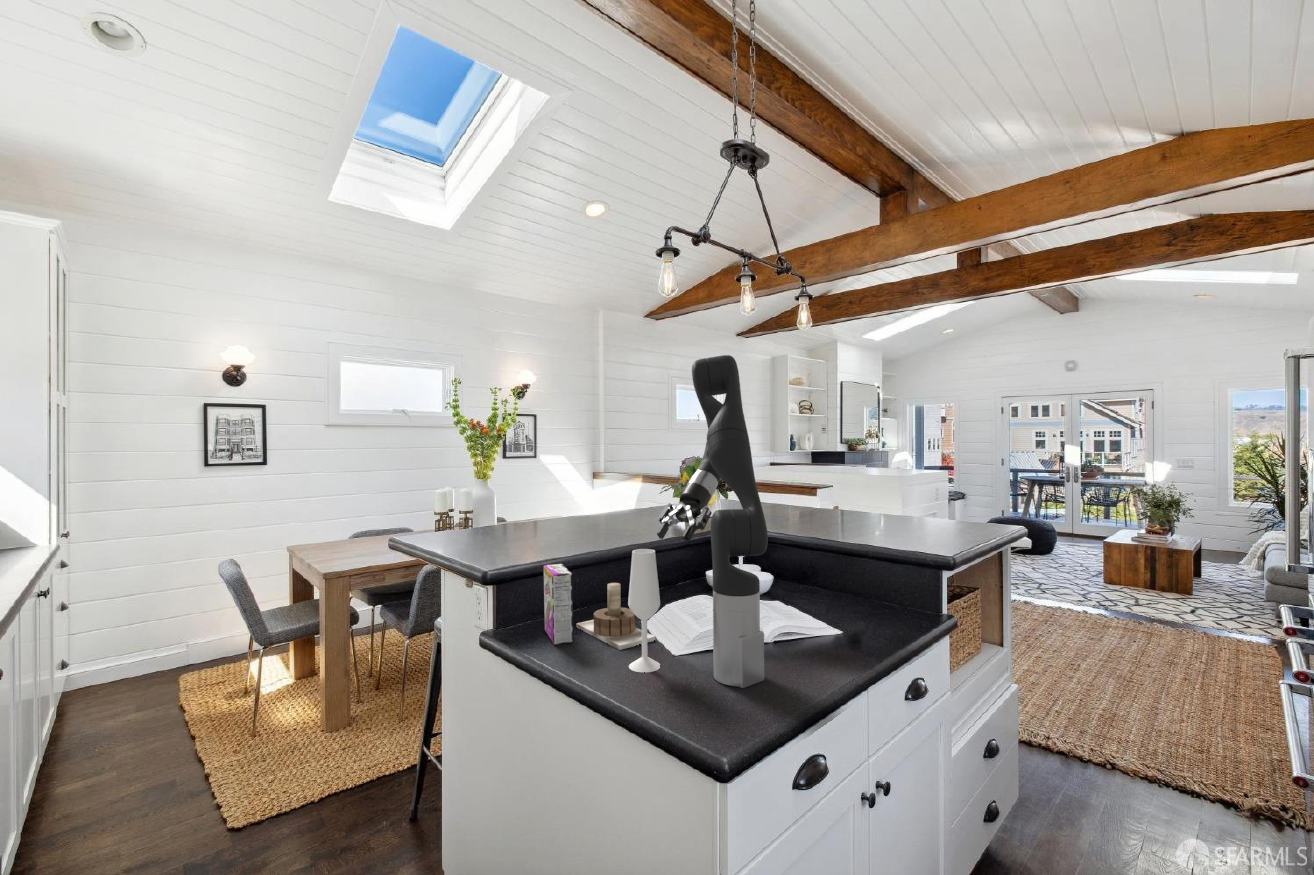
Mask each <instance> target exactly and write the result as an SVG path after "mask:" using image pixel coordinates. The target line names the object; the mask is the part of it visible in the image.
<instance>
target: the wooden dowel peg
mask: <svg viewBox="0 0 1314 875" xmlns="http://www.w3.org/2000/svg"><path fill="white" fill-rule="evenodd" d="M606 589H607V593H606V594H607V598H606V599H607V608H608V616H621V607H622V606H621V605H622V604H621V602H622V601H621V600H622V599H621V596H622V595H621V593H622V591H621V583H619V582H610V583H607V587H606Z"/></svg>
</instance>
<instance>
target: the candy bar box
mask: <svg viewBox="0 0 1314 875" xmlns="http://www.w3.org/2000/svg"><path fill="white" fill-rule="evenodd" d="M572 583H573V574H572V572H571V571H570V570H569V569H568V568H567V567H566V566H565V565H564V564H563V563H556V564H555V563H554V564H545V565H543V594H544V595H543V596H544V597H543V599H544V600H543V601H544V602H543V603H544V604H543V605H544V606H543V607H544V608H543V609H544V631H545V633H546V635H547V636H548V638H549V639H550V640H551V643H552V644H553V645H562V643H564V644H568V643H570V644H571V643H573V642H574V637H573V636H574V635H573V634H574V631H573V630H574V624H573V621H574V620H573V585H572Z"/></svg>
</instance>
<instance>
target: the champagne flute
mask: <svg viewBox="0 0 1314 875" xmlns="http://www.w3.org/2000/svg"><path fill="white" fill-rule="evenodd" d="M630 564H631V565H630V575H629V586H628V587H629V588H628V589H629V590H628V599H627V600H628V601H627V605H628V607H629V608H628V609H630V610H631V611H632V612H633V613H634V614H635V617H637V618H638V619H639V620H641V630H642V644H641V656H640V657H639V658H638V659H635V661H632V662H631V663H629V665H628V669H629V670H631V671H633V672H637V673H644V672H645V673H652V672H655V671H658V670H659V669H661V667H660V665H661V664H660V663H659V662H658V661H656V660H654V659H652V658H651V657H649V656H648V643H647V633H648V620H649V619H651V618H652V617H653V616H654V615H655V614H656V613H657V611H658V610H659V608H660V607H661V599H660V597H661V596H660V588H659V578H658V568H657V557H656V550H655V549H650V548H638V549H634V550H632V552H631V562H630Z"/></svg>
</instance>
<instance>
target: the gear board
mask: <svg viewBox="0 0 1314 875" xmlns="http://www.w3.org/2000/svg"><path fill="white" fill-rule="evenodd" d="M575 627H577V629H578V630H580V629H581V631H582V630H583V633H586V634H588V635H590V636H591V637H594V638H596V639H597V640H600V641H602V642H604V643H606V644H607V643H608V644H607V645H609V646H611V647H613V648H616V649H617V650H619V651H621V650H625V649H628V648H633V647H635V646H636V645H637V646H640V645H639V644H641V645H642V629H640V628H637V627H636V615H635V614H634V613H633V612H632V611H631V610H630V608H628V607H622V606H621V616H608V607H606V608H600V609H597V610H595V611H594V612H593V619H590V620H585V621H582V622H577V623H576V626H575ZM654 640H655V641H656V635H654V634H651V633H649V632H647V644H648V643H652V642H655V641H654Z"/></svg>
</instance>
